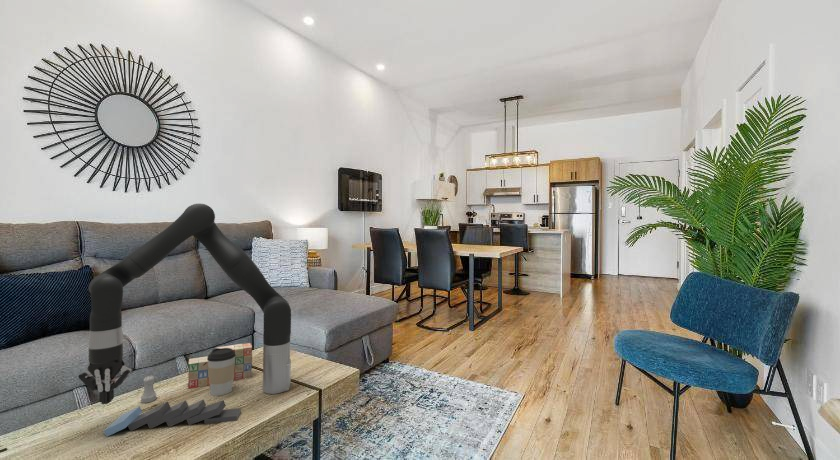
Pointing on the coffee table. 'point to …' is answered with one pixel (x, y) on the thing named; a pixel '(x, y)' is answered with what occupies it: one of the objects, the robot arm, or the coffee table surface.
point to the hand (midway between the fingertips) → (106, 402)
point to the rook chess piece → (148, 390)
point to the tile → (122, 421)
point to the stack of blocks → (241, 371)
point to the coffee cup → (221, 370)
